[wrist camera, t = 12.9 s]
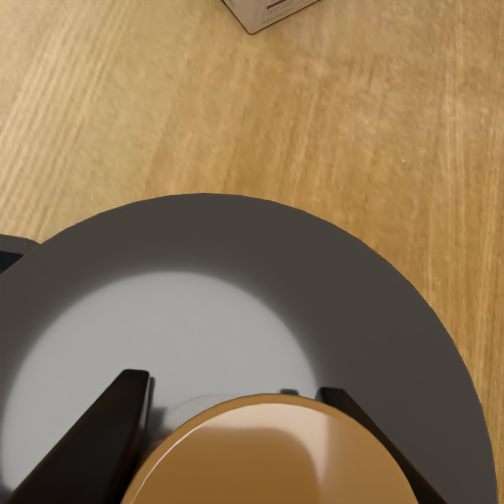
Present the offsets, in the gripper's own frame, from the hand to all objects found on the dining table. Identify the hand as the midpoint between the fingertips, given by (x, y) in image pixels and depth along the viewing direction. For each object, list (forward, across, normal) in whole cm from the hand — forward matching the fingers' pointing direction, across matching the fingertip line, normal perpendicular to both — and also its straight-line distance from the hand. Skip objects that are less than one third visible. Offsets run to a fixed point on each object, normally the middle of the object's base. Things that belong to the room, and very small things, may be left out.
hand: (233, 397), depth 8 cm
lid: (+1, 0, +3) cm, 3 cm away
